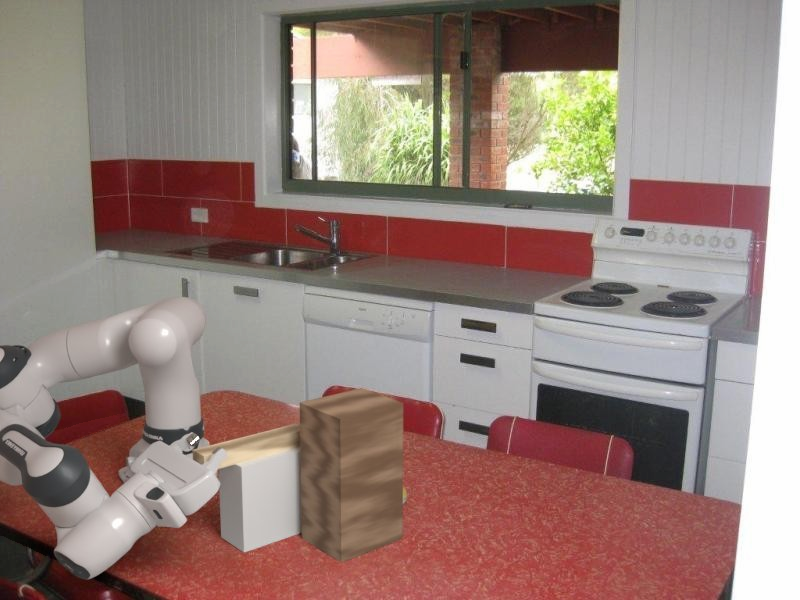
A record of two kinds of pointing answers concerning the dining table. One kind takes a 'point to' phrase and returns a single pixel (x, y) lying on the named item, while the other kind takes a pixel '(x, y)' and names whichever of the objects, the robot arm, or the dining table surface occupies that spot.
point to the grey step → (261, 500)
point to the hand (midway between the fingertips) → (209, 442)
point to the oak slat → (252, 446)
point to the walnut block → (351, 472)
